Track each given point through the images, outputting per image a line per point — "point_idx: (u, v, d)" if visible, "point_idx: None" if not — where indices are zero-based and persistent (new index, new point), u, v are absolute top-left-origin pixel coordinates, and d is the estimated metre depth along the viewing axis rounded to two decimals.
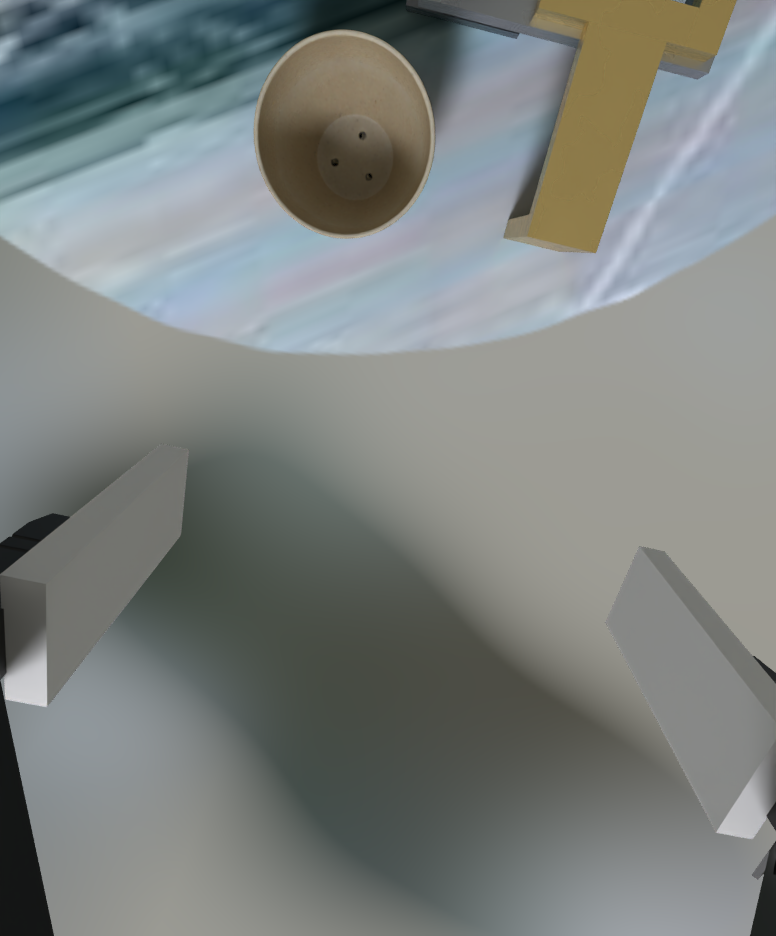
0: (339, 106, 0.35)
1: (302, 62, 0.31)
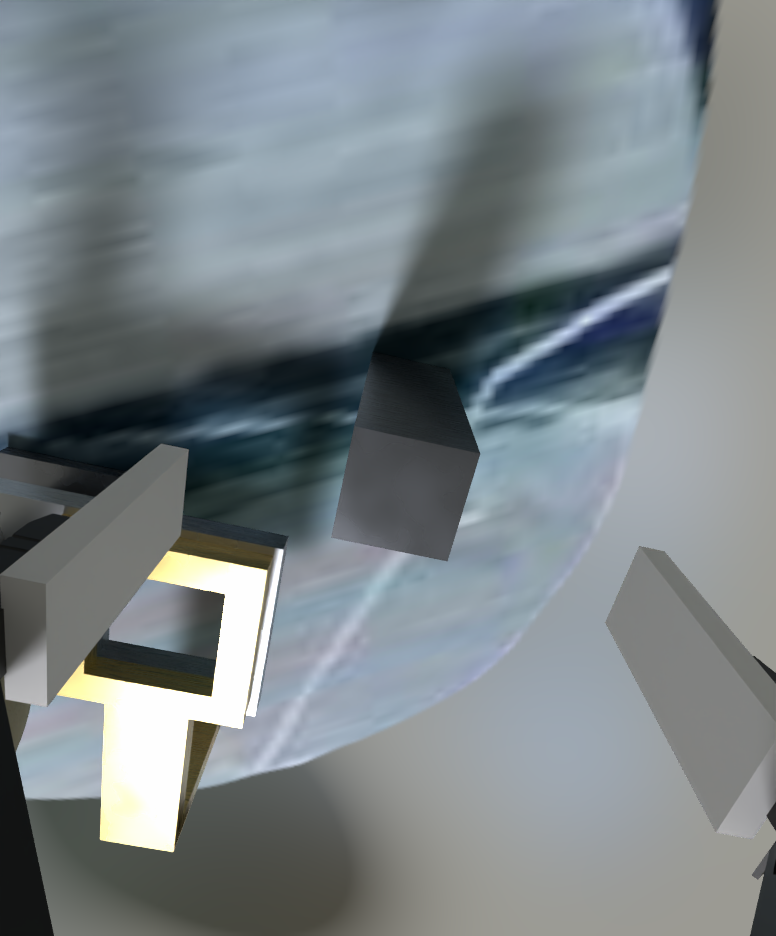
0: None
1: None
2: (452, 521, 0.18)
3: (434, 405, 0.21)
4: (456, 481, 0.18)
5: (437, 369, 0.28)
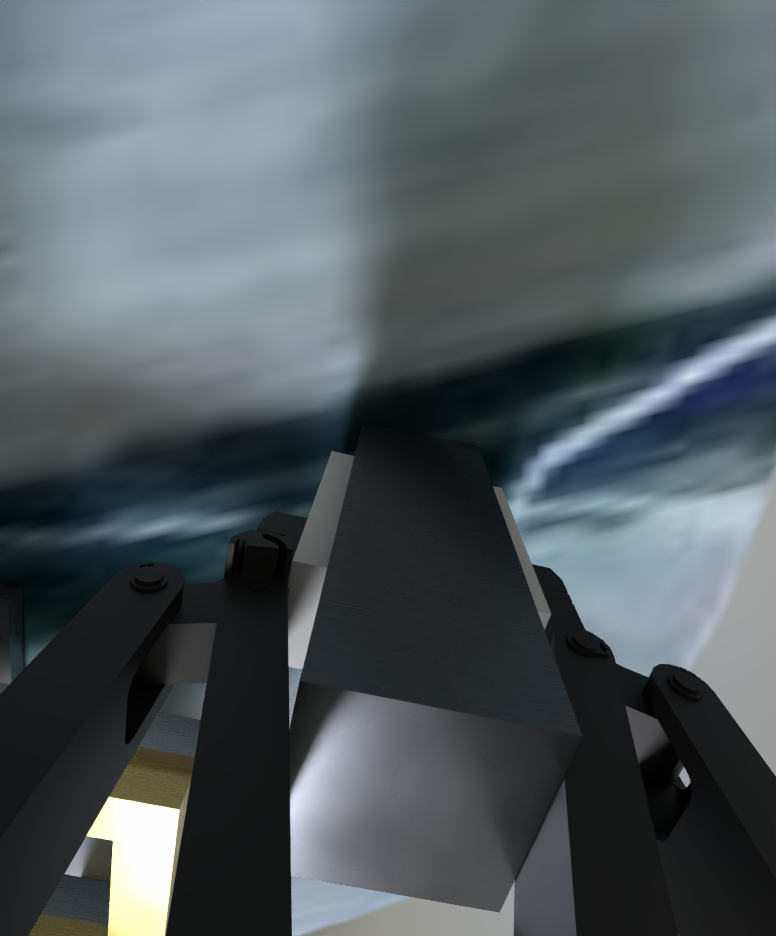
0: None
1: None
2: (513, 850, 0.09)
3: (466, 554, 0.12)
4: (527, 784, 0.08)
5: (461, 450, 0.18)
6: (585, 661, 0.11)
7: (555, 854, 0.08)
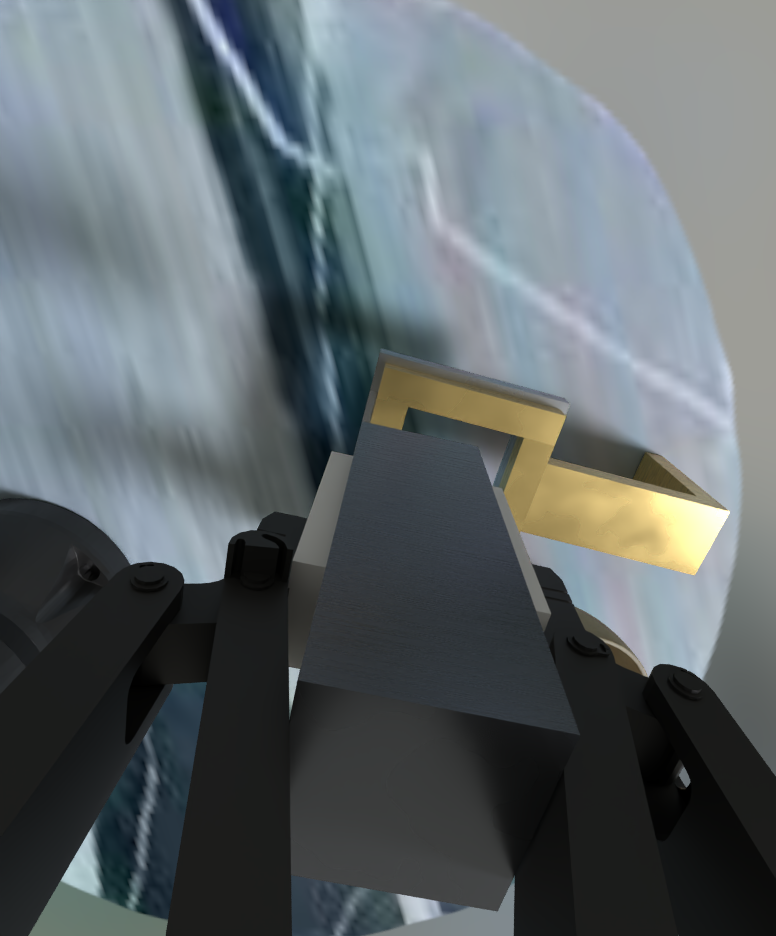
0: None
1: None
2: (511, 849, 0.09)
3: (464, 553, 0.12)
4: (525, 783, 0.08)
5: (460, 450, 0.18)
6: (585, 661, 0.11)
7: (556, 854, 0.08)
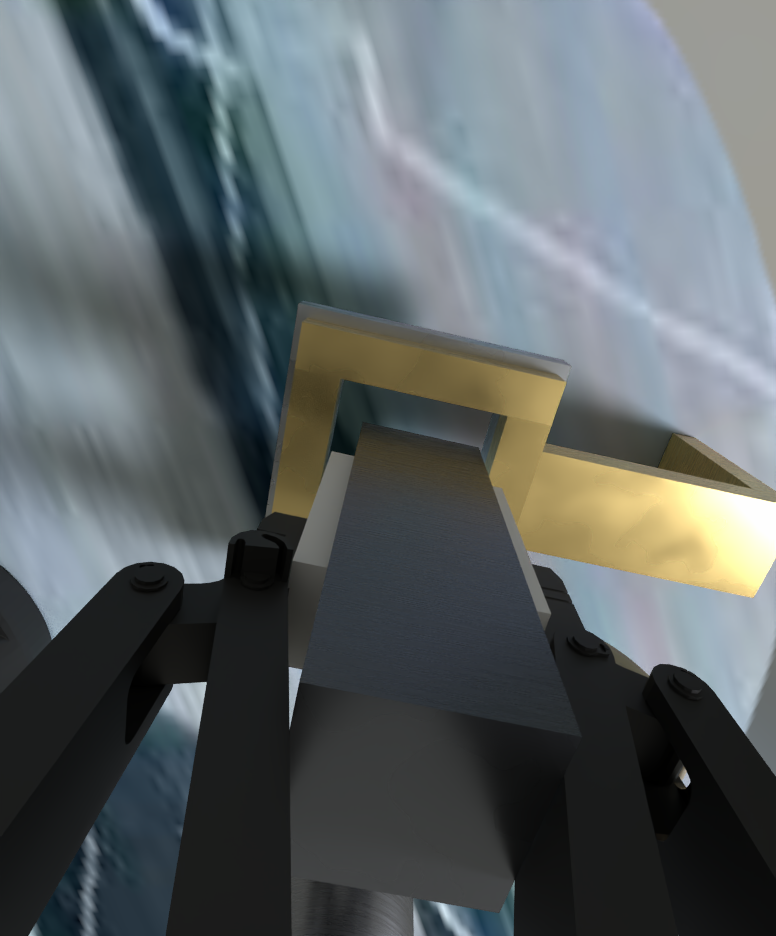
0: None
1: None
2: (513, 851, 0.09)
3: (465, 555, 0.12)
4: (526, 784, 0.08)
5: (461, 450, 0.18)
6: (585, 661, 0.11)
7: (556, 854, 0.08)
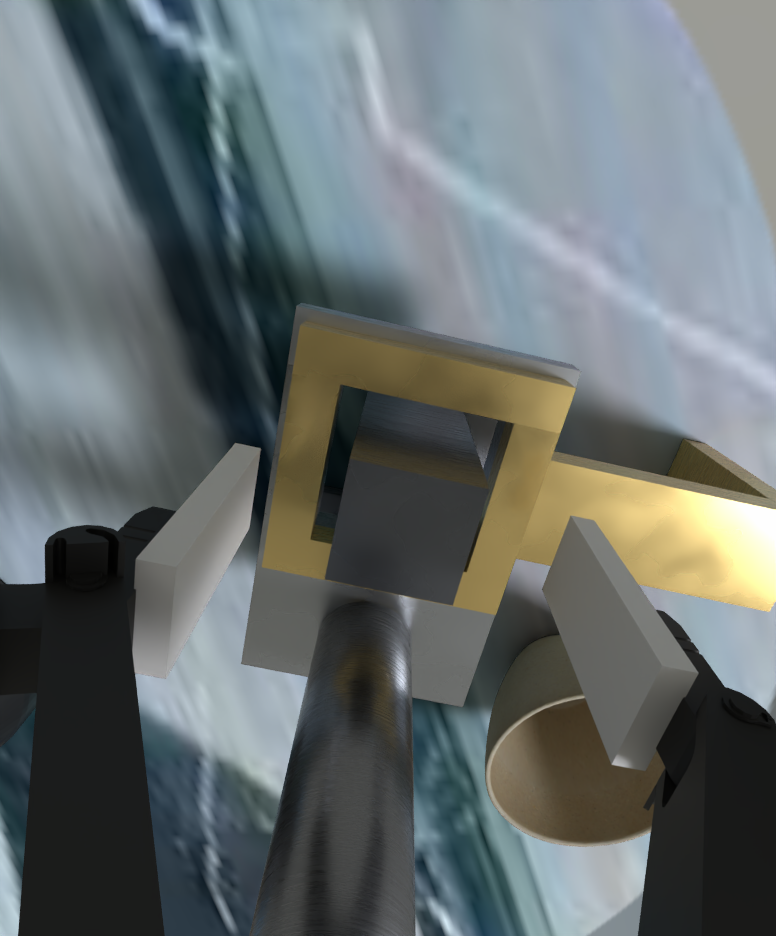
0: None
1: (500, 780, 0.29)
2: (458, 562, 0.17)
3: (439, 431, 0.20)
4: (463, 519, 0.16)
5: None
6: (742, 726, 0.10)
7: (686, 908, 0.07)
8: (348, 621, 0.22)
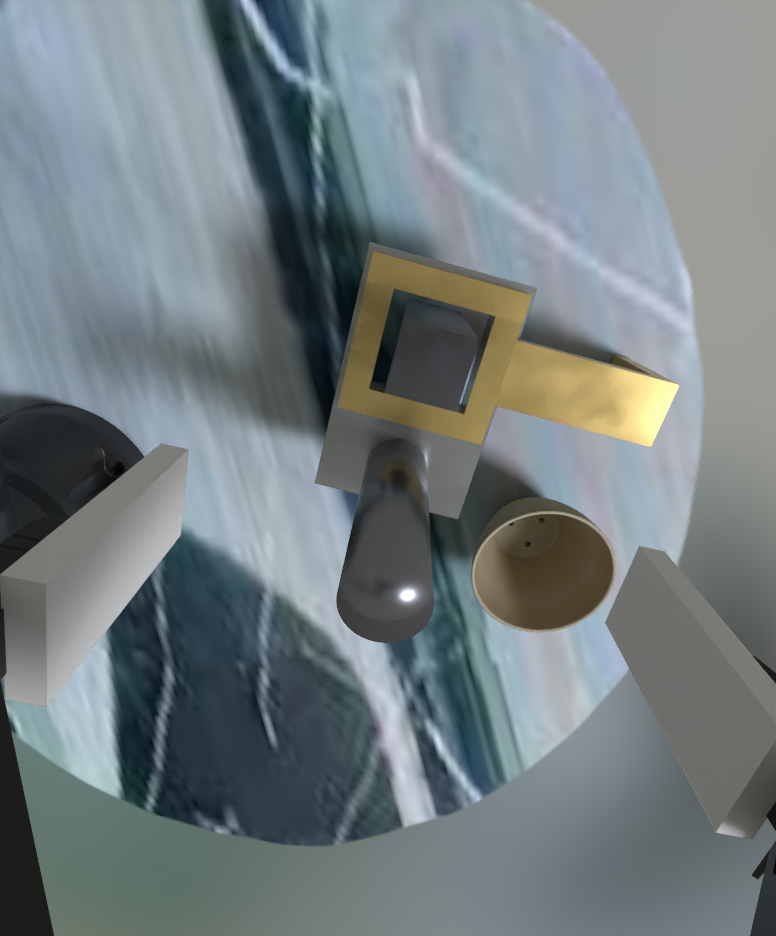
0: (492, 541, 0.45)
1: (481, 587, 0.42)
2: (460, 384, 0.30)
3: (451, 322, 0.33)
4: (464, 357, 0.29)
5: (452, 311, 0.39)
6: None
7: None
8: (388, 446, 0.35)
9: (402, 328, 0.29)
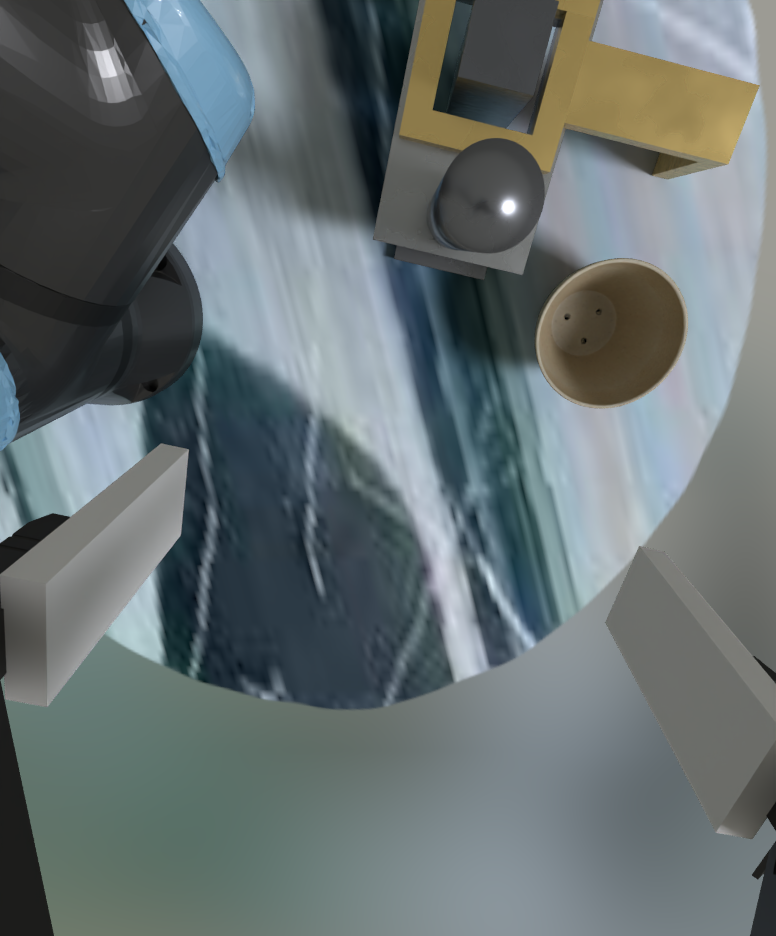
0: (548, 335, 0.44)
1: (543, 366, 0.40)
2: (538, 60, 0.28)
3: None
4: (543, 25, 0.28)
5: None
6: None
7: None
8: None
9: None
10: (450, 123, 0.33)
